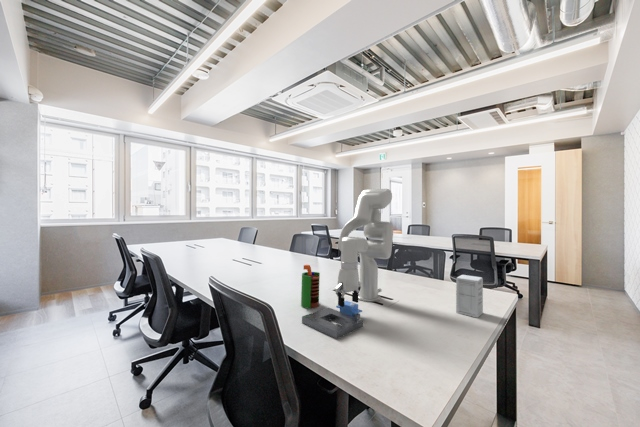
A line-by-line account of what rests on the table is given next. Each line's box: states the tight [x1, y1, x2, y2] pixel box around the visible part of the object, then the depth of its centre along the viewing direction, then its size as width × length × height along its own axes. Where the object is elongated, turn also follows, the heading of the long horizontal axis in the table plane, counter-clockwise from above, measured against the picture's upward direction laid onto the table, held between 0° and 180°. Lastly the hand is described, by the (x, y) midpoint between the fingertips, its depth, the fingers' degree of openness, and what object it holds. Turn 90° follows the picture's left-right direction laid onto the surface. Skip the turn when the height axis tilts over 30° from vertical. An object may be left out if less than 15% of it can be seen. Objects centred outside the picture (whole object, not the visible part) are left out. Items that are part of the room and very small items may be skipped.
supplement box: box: [455, 274, 484, 318], centre depth 130 cm, size 10×9×17 cm
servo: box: [335, 300, 363, 319], centre depth 125 cm, size 4×12×6 cm, turn 44°
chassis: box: [301, 307, 364, 340], centre depth 115 cm, size 16×20×3 cm
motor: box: [300, 264, 321, 309], centre depth 138 cm, size 10×9×20 cm
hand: (348, 303), depth 124 cm, fingers open, 9 cm apart
